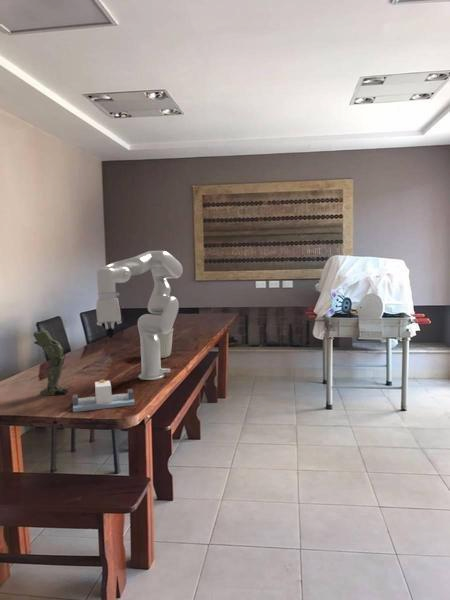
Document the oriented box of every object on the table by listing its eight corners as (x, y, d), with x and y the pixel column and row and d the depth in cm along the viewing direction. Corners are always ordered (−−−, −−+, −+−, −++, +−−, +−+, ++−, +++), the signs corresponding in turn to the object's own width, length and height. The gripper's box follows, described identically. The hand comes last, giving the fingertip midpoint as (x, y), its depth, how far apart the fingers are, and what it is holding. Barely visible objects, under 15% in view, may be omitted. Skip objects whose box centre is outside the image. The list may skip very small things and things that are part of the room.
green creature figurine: (76, 388, 217) (57, 325, 214) (72, 393, 210) (52, 328, 207) (47, 396, 217) (27, 333, 214) (41, 401, 210) (21, 336, 207)
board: (131, 396, 206) (131, 393, 205) (134, 405, 194) (134, 401, 194) (73, 403, 199) (73, 399, 198) (73, 411, 187) (72, 408, 187)
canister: (177, 353, 293) (176, 319, 291) (171, 360, 275) (170, 324, 273) (148, 353, 295) (147, 319, 293) (140, 360, 277) (139, 324, 275)
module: (110, 396, 201) (109, 378, 200) (111, 402, 193) (111, 383, 192) (95, 398, 199) (94, 380, 199) (96, 404, 191) (95, 385, 191)
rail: (132, 395, 202) (132, 388, 202) (133, 399, 197) (133, 391, 197) (73, 401, 195) (72, 394, 195) (72, 405, 190) (72, 398, 190)
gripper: (123, 294, 214) (126, 334, 216) (89, 296, 209) (92, 337, 211) (125, 295, 207) (128, 337, 209) (89, 298, 202) (93, 340, 204)
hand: (110, 337), depth 210 cm, fingers closed
